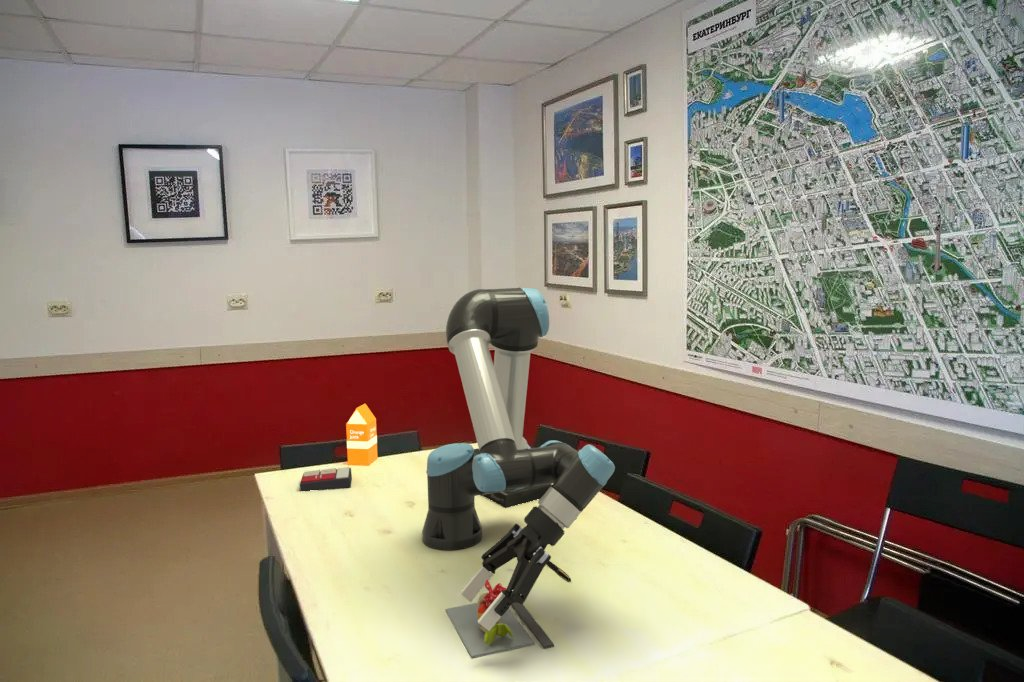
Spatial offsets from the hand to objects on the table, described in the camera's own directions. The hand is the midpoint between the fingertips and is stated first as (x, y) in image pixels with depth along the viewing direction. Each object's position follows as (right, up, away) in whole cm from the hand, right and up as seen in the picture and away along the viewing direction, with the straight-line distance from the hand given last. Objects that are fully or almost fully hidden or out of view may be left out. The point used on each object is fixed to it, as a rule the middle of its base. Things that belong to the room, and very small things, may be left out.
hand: (473, 611), depth 128 cm
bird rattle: (+3, -5, +2) cm, 6 cm away
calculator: (-52, +4, +93) cm, 106 cm away
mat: (+4, -5, +6) cm, 9 cm away
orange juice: (-45, +7, +116) cm, 125 cm away
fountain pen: (+17, -3, +30) cm, 34 cm away
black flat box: (+8, +3, +81) cm, 81 cm away
